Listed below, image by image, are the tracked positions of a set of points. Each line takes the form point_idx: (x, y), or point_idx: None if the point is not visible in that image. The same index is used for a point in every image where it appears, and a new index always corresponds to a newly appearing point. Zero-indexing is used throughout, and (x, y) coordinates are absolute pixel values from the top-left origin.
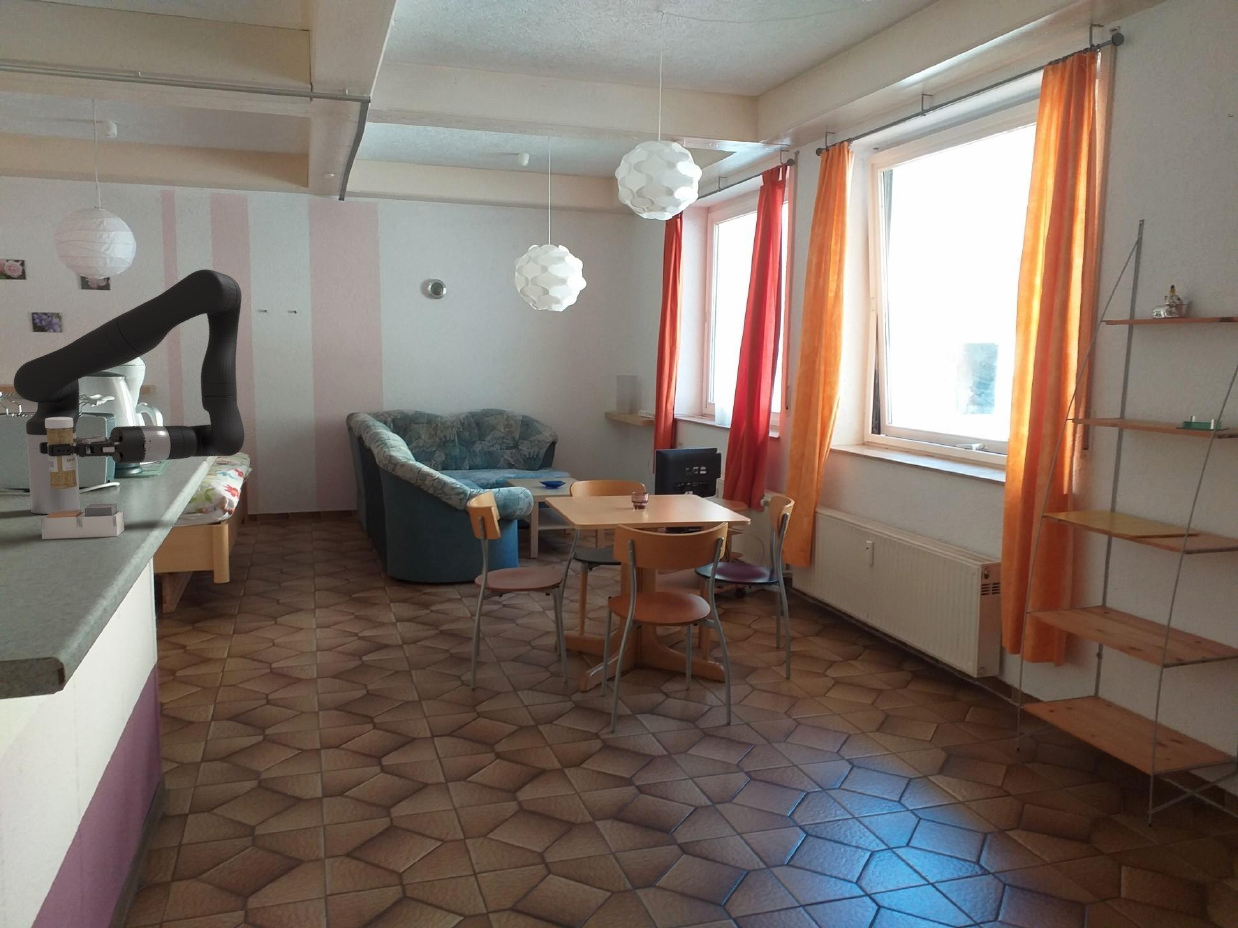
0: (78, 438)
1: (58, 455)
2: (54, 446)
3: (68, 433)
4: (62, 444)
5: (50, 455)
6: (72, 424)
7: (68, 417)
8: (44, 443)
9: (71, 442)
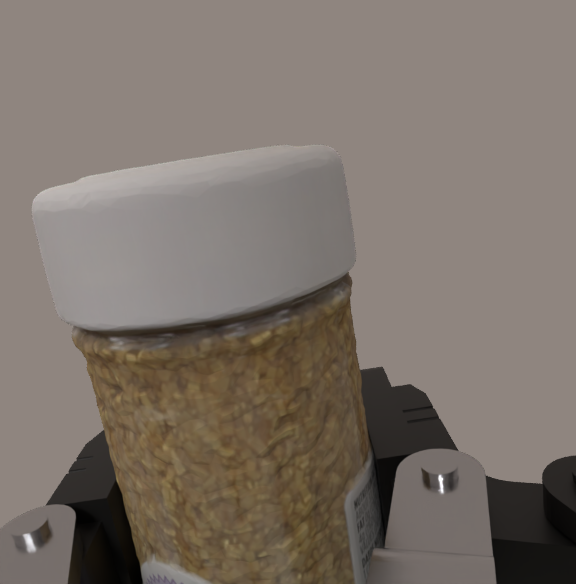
0: (369, 571)
1: None
2: None
3: (93, 385)
4: (95, 457)
5: None
6: (74, 289)
7: (165, 166)
8: None
9: (138, 509)
